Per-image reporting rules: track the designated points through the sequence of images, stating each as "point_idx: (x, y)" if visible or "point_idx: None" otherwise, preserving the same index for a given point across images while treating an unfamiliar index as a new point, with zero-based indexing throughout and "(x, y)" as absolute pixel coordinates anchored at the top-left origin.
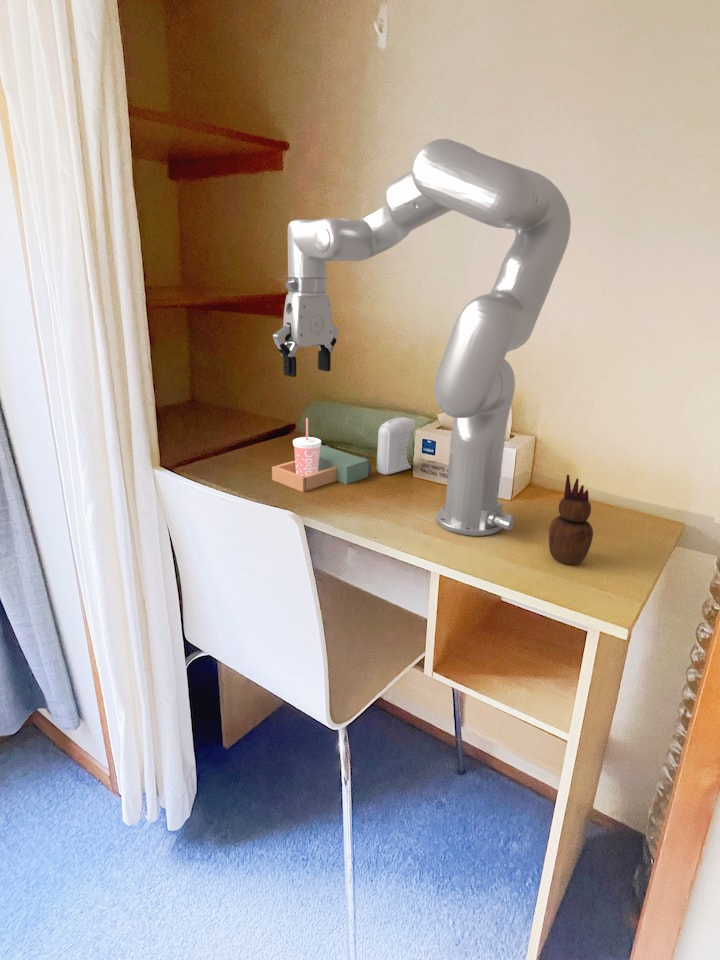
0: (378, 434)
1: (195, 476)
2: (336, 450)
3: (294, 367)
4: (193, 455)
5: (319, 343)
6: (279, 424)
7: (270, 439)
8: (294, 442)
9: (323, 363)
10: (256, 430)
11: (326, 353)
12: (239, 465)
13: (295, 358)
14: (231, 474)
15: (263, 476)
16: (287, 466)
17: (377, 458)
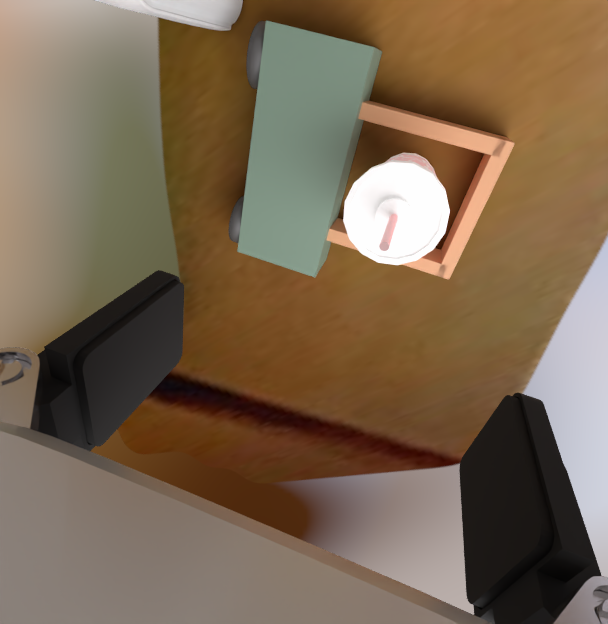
0: (161, 11)
1: None
2: (251, 179)
3: (557, 456)
4: (383, 462)
5: (184, 515)
6: None
7: (215, 386)
8: (434, 244)
9: (153, 344)
10: (192, 426)
11: (86, 372)
12: (390, 371)
13: (566, 534)
14: (455, 360)
15: (433, 294)
16: None
17: (212, 24)
